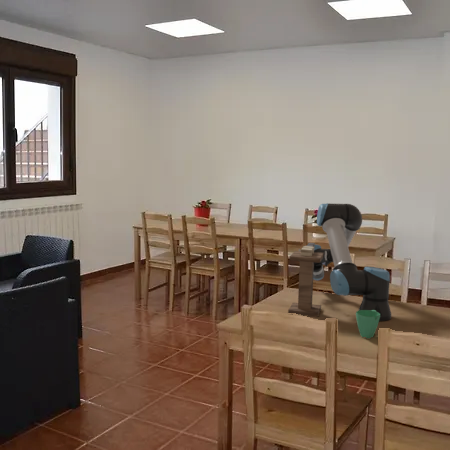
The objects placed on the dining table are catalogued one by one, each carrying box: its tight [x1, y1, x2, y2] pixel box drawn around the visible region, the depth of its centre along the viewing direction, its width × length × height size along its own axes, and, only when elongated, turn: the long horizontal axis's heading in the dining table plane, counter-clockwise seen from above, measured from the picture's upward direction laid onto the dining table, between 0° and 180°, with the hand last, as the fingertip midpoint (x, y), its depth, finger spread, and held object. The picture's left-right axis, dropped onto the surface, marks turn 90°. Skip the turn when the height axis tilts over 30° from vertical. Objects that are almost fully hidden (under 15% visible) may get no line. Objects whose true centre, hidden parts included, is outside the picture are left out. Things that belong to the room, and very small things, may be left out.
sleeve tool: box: [300, 242, 316, 256], centre depth 269 cm, size 22×5×3 cm, turn 164°
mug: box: [355, 309, 380, 339], centre depth 232 cm, size 15×10×10 cm
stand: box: [287, 250, 324, 318], centre depth 264 cm, size 16×14×28 cm
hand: (312, 252), depth 284 cm, fingers open, 13 cm apart
